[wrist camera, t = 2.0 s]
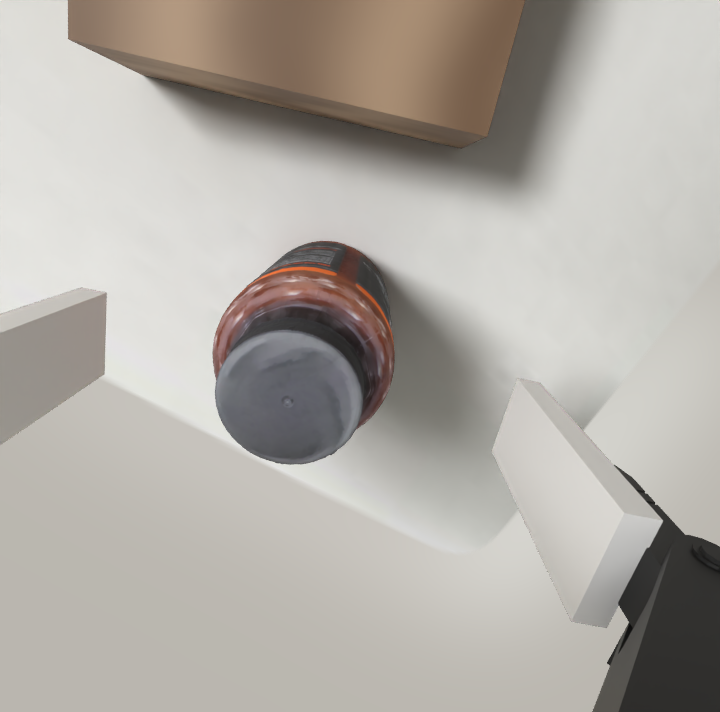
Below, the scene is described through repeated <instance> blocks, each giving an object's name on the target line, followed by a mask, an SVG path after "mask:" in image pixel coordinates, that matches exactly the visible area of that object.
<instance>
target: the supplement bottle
mask: <svg viewBox="0 0 720 712" xmlns="http://www.w3.org/2000/svg"><path fill="white" fill-rule="evenodd" d="M213 364H214V372H215V377H216V388H215V399H216V406H217V409H218V413H219V416H220V418H221V421H222V423H223V425H224V426H225V428H226V430H227V431H228V432H229V433H230V435H231V436H232V437H233V438H234V439H235V440H236V441H237V442H238V443H239V444H240V445H241V446H242V447H243V448H245V449H246V450H248V451H249V452H250V453H252V454H254V455H256V456H258V457H260V458H263V459H266V460H269V461H273V462H275V463H281V464H290V465H291V464H306V463H310V462H314V461H317V460H320V459H322V458H325V457H326V456H328V455H332V454H334V453H335V452H336V451H337V450H338V449H339V448H341V447H342V446H343V445H344V444H345V443H346V442H347V441H348V440H349V439H350V438H351V436H352V435H353V433H354V431H355V430H356V429H357V428H359V427H360V426H361V425H363V424H365V423H366V422H367V421H368V420H369V419H370V418H371V417H372V416H373V415H374V413H375V412H376V411H377V410H378V408H379V407H380V405H381V404H382V402H383V401H384V399H385V397H386V395H387V393H388V391H389V388H390V385H391V381H392V376H393V371H394V343H393V334H392V326H391V318H390V311H389V303H388V296H387V291H386V288H385V285H384V282H383V279H382V277H381V275H380V273H379V272H378V270H377V268H376V267H375V266H374V265H373V263H372V262H371V261H370V260H369V259H368V258H367V257H366V256H364V255H363V254H362V253H360V252H359V251H357V250H356V249H354V248H352V247H350V246H347V245H345V244H342V243H338V242H332V241H317V242H311V243H308V244H304V245H302V246H299V247H297V248H295V249H293V250H291V251H290V252H288V253H286V254H285V255H284V256H282V258H280V259H279V260H278V261H277V262H276V263H274V264H273V265H272V266H271V267H270V268H268V269H267V270H266V271H265V272H264V273H262V274H261V275H260V276H259V277H258V278H257V279H255V280H254V281H253V282H252V283H251V284H249V285H248V286H247V287H246V288H245V289H244V290H243V291H242V292H241V293H240V294H239V295H238V296H237V297H236V298H235V299H234V300H233V301H232V303H231V304H230V306H229V307H228V308H227V310H226V311H225V313H224V315H223V316H222V318H221V321H220V323H219V325H218V328H217V331H216V334H215V337H214V343H213Z"/></svg>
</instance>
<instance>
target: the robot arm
mask: <svg viewBox="0 0 720 712" xmlns="http://www.w3.org/2000/svg"><path fill="white" fill-rule="evenodd" d="M106 298H107V293H106V292H101V291H96V290H92V289H87V288H82V287H81V288H78V289H75V290H72V291H69V292H66V293H63V294H60V295H57V296H54V297H51V298H48V299H45V300H42V301H38V302H35V303H32V304H29V305H26V306H23V307H20V308H17V309H14V310H11V311H8V312H5V313H2V314H0V445H1V444H3V443H4V442H5V441H7V440H8V439H9V438H11V437H13V436H14V435H16V434H17V433H19V432H20V431H21V430H23V429H25V428H26V427H28V426H29V425H30V424H32V423H33V422H35V421H36V420H38V419H39V418H41V417H42V416H44V415H45V414H47V413H48V412H50V411H51V410H53V409H54V408H55V407H57V406H58V405H60V404H61V403H63V402H64V401H66V400H67V399H69V398H70V397H72V396H73V395H75V394H76V393H77V392H79V391H80V390H82V389H83V388H85V387H86V386H88V385H89V384H91V383H92V382H93V381H95V380H97V379H98V378H99V377H101V376H102V375H104V371H105V335H106ZM492 454H493V456H494V458H495V460H496V462H497V464H498V466H499V468H500V471H501V473H502V475H503V477H504V479H505V481H506V483H507V486H508V488H509V490H510V492H511V494H512V496H513V498H514V501H515V503H516V505H517V507H518V509H519V511H520V513H521V515H522V518H523V520H524V522H525V524H526V526H527V528H528V530H529V533H530V535H531V537H532V539H533V541H534V543H535V545H536V547H537V549H538V552H539V554H540V556H541V558H542V560H543V562H544V564H545V567H546V569H547V571H548V573H549V575H550V577H551V580H552V582H553V584H554V586H555V588H556V590H557V592H558V595H559V597H560V599H561V601H562V603H563V605H564V607H565V609H566V612H567V614H568V616H569V618H570V620H571V622H576V623H581V624H587V625H592V626H598V627H604V628H607V627H608V625H609V622H610V621H611V619H612V617H613V615H614V613H615V611H616V609H617V607H618V606H620V608H621V609H622V611H623V613H624V614H625V616H626V618H627V619H628V621H629V624H628V626H627V627H626V629H625V631H624V633H623V635H622V637H621V638H620V640H619V642H618V644H617V646H616V647H615V649H614V651H613V653H612V655H611V657H610V658H609V660H608V662H607V664H609V665H610V668H609V670H608V673H607V676H606V678H605V681H604V683H603V686H602V688H601V691H600V694H599V696H598V699H597V701H596V704H595V707H594V709H593V712H720V547H719V546H717V545H716V544H713V543H711V542H709V541H706V540H704V539H702V538H698V537H694V536H690V535H685V534H684V533H683V532H682V531H681V530H680V529H679V528H678V527H677V526H676V525H675V523H674V522H673V521H672V520H671V519H670V518H669V517H668V516H667V515H666V514H665V513H664V512H663V510H662V509H661V508H660V507H659V506H658V505H655V502H654V501H653V500H652V499H651V497H650V496H649V495H648V494H645V491H644V490H643V489H642V488H641V486H640V485H639V484H638V483H637V482H636V481H635V480H634V479H633V478H632V477H631V476H629V475H628V474H627V473H625V472H624V471H622V470H621V469H620V468H618V467H617V466H615V465H613V464H612V463H611V462H610V461H609V459H608V458H607V457H606V456H605V455H604V454H603V453H602V452H601V450H600V449H599V448H598V447H597V446H596V445H595V444H594V443H593V442H592V440H591V439H590V438H589V437H588V436H587V435H586V434H585V433H584V431H583V430H582V429H581V428H580V427H579V426H578V425H577V424H576V422H575V421H574V420H573V419H572V418H571V417H570V416H569V415H568V413H567V412H566V411H565V410H564V409H563V408H562V407H561V406H560V405H559V403H558V402H557V401H556V400H555V399H554V398H553V397H552V396H551V394H550V393H549V392H548V391H547V390H546V389H545V388H544V387H543V385H542V384H541V383H538V382H534V381H529V380H524V379H519V378H517V380H516V383H515V386H514V389H513V392H512V395H511V397H510V400H509V403H508V406H507V409H506V412H505V414H504V417H503V420H502V423H501V426H500V429H499V431H498V434H497V437H496V440H495V443H494V446H493V448H492Z"/></svg>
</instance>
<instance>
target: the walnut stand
mask: <svg viewBox="0 0 720 712" xmlns="http://www.w3.org/2000/svg"><path fill="white" fill-rule="evenodd" d="M524 3H525V0H68V39H69V40H71V41H73V42H75V43H77V44H80V45H82V46H84V47H86V48H88V49H90V50H92V51H94V52H96V53H98V54H100V55H102V56H104V57H106V58H108V59H111V60H113V61H115V62H117V63H119V64H121V65H123V66H125V67H127V68H129V69H131V70H133V71H135V72H137V73H139V74H142V75H146V76H150V77H154V78H159V79H163V80H167V81H172V82H176V83H180V84H185V85H189V86H193V87H197V88H202V89H206V90H210V91H215V92H219V93H223V94H228V95H232V96H236V97H241V98H245V99H249V100H254V101H258V102H262V103H267V104H271V105H275V106H280V107H284V108H288V109H293V110H297V111H301V112H306V113H310V114H314V115H319V116H323V117H327V118H332V119H336V120H340V121H345V122H349V123H353V124H358V125H362V126H366V127H370V128H375V129H379V130H383V131H388V132H392V133H396V134H401V135H405V136H409V137H414V138H418V139H422V140H427V141H431V142H435V143H440V144H444V145H448V146H453V147H457V148H463V147H466V146H468V145H470V144H472V143H474V142H477V141H479V140H481V139H483V138H485V137H487V136H488V132H489V129H490V125H491V121H492V118H493V114H494V111H495V107H496V103H497V100H498V96H499V93H500V89H501V85H502V82H503V78H504V75H505V71H506V68H507V64H508V60H509V57H510V53H511V50H512V46H513V42H514V39H515V35H516V32H517V28H518V25H519V21H520V17H521V14H522V10H523V7H524Z"/></svg>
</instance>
